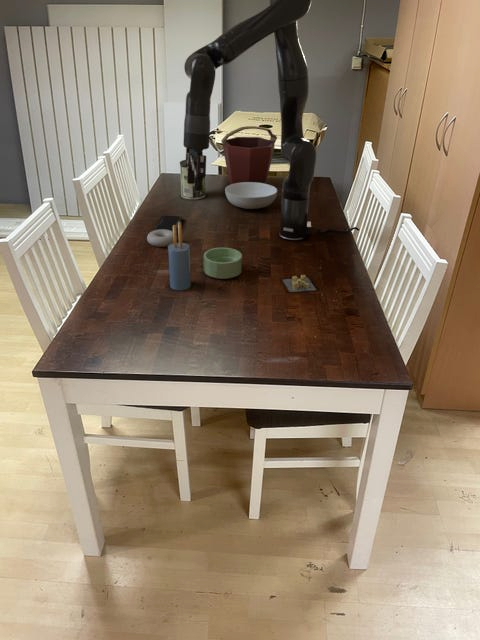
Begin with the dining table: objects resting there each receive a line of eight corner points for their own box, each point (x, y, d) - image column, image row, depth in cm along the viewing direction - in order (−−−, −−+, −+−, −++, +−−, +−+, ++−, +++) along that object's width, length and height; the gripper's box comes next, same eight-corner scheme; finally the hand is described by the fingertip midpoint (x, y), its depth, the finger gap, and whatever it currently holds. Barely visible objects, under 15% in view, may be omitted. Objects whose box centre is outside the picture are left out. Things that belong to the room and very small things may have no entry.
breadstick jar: (192, 281, 151) (190, 219, 141) (189, 291, 146) (186, 227, 136) (172, 280, 151) (169, 218, 141) (168, 289, 146) (164, 226, 136)
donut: (143, 247, 171) (171, 249, 170) (142, 237, 170) (171, 239, 168) (153, 236, 180) (180, 238, 178) (152, 226, 178) (180, 228, 176)
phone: (182, 216, 193) (175, 231, 180) (182, 219, 194) (175, 234, 181) (161, 215, 194) (153, 230, 181) (162, 218, 194) (153, 233, 181)
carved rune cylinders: (293, 289, 148) (293, 283, 147) (288, 281, 152) (288, 275, 151) (310, 288, 149) (310, 282, 148) (304, 280, 153) (305, 274, 152)
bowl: (243, 264, 161) (243, 248, 158) (239, 281, 151) (240, 264, 149) (206, 262, 162) (206, 246, 159) (201, 279, 152) (201, 262, 149)
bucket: (273, 178, 242) (276, 122, 229) (277, 192, 224) (281, 132, 211) (221, 177, 242) (221, 121, 229) (221, 192, 223) (221, 131, 210)
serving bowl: (285, 203, 212) (286, 187, 208) (259, 218, 196) (260, 200, 193) (242, 194, 221) (243, 178, 217) (214, 207, 206) (214, 190, 202)
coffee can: (206, 192, 222) (205, 159, 215) (204, 200, 214) (204, 165, 206) (182, 191, 222) (181, 158, 215) (179, 199, 214) (178, 165, 206)
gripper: (216, 135, 145) (213, 192, 152) (202, 127, 157) (200, 181, 164) (190, 134, 142) (188, 192, 150) (178, 126, 154) (176, 181, 162)
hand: (194, 186), depth 157 cm, fingers open, 8 cm apart
